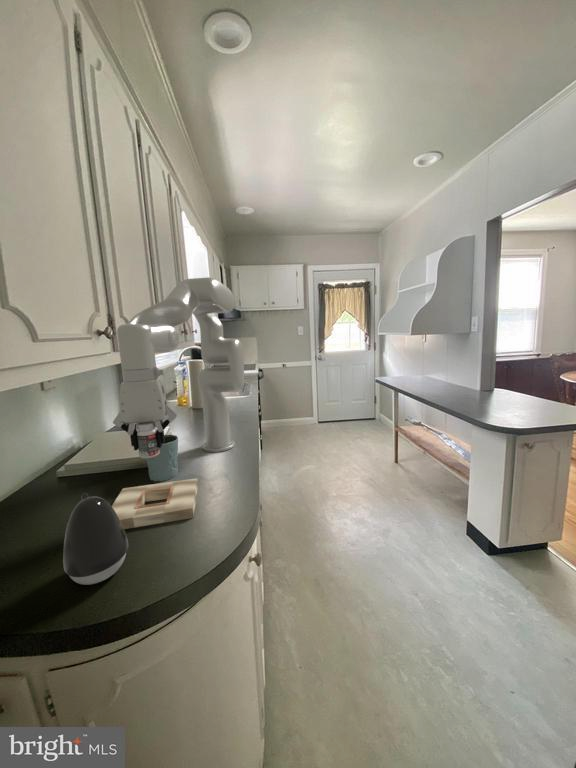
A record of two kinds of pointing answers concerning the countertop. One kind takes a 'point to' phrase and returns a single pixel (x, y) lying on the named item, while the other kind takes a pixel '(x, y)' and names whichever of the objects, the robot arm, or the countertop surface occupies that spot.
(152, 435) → the pill bottle
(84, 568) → the dark rounded oval
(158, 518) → the socket plate
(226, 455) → the countertop surface
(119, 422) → the robot arm
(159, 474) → the blue green cup
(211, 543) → the countertop surface
